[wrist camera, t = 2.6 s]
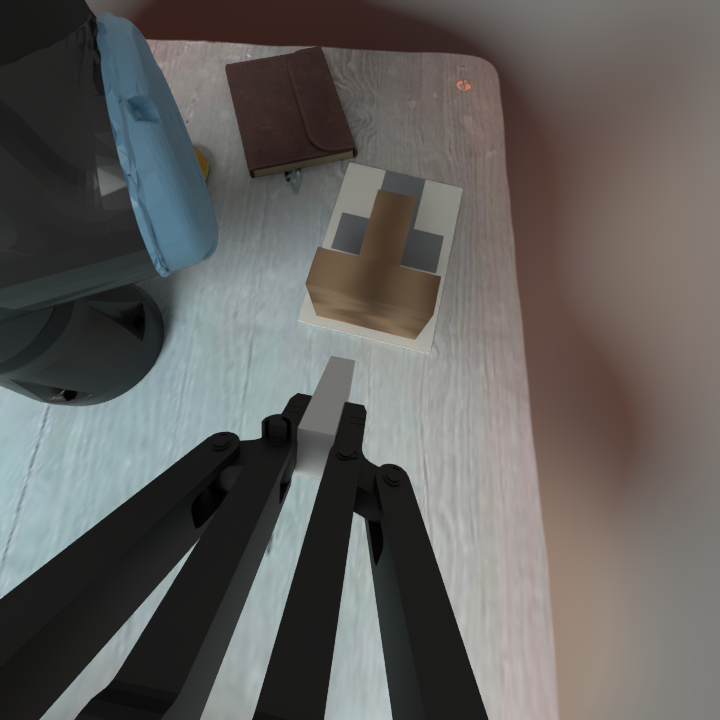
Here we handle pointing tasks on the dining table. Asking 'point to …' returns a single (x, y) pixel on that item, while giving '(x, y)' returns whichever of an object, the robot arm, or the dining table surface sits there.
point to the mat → (422, 246)
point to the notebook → (288, 112)
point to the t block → (376, 276)
